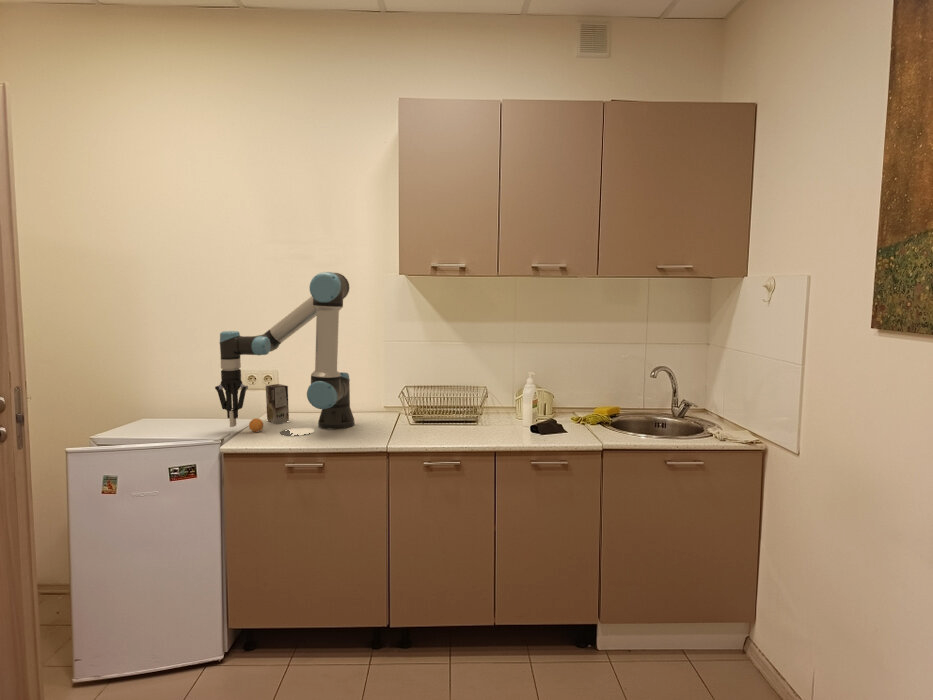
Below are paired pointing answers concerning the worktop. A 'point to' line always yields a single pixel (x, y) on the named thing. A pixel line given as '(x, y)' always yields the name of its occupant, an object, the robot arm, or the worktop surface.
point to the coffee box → (277, 403)
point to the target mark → (288, 433)
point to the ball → (256, 425)
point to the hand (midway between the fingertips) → (233, 426)
